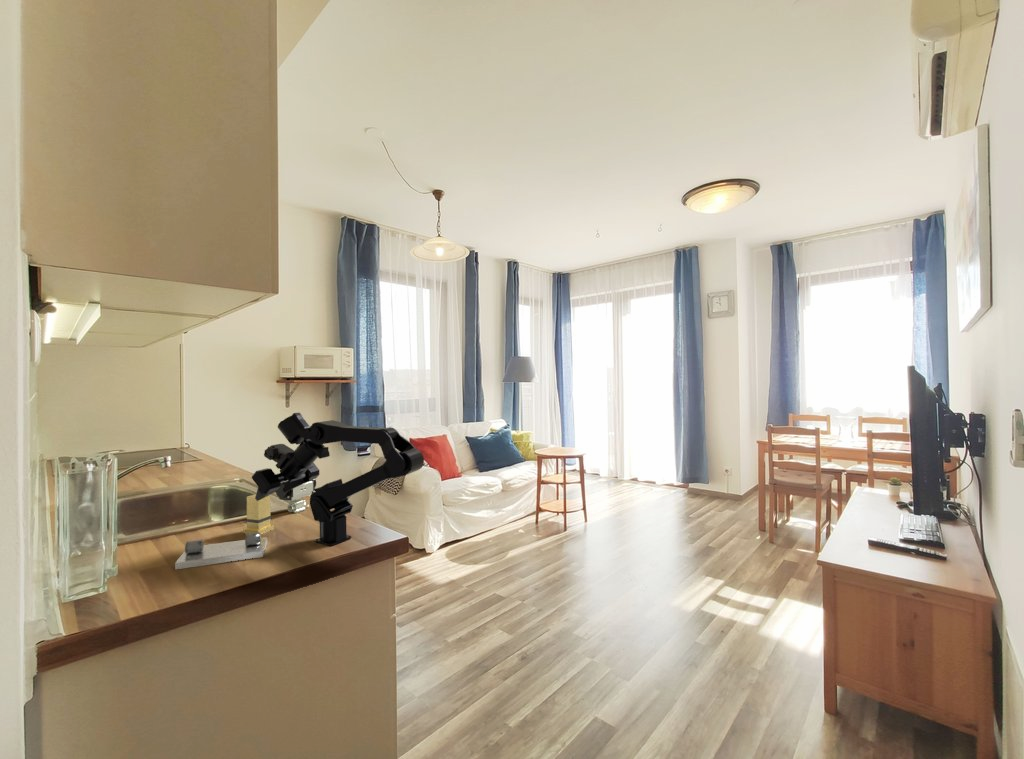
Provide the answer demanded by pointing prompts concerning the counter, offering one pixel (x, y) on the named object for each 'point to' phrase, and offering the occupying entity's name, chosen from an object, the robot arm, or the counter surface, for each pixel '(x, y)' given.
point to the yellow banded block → (258, 515)
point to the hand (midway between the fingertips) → (270, 495)
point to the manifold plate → (221, 551)
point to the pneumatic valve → (296, 495)
